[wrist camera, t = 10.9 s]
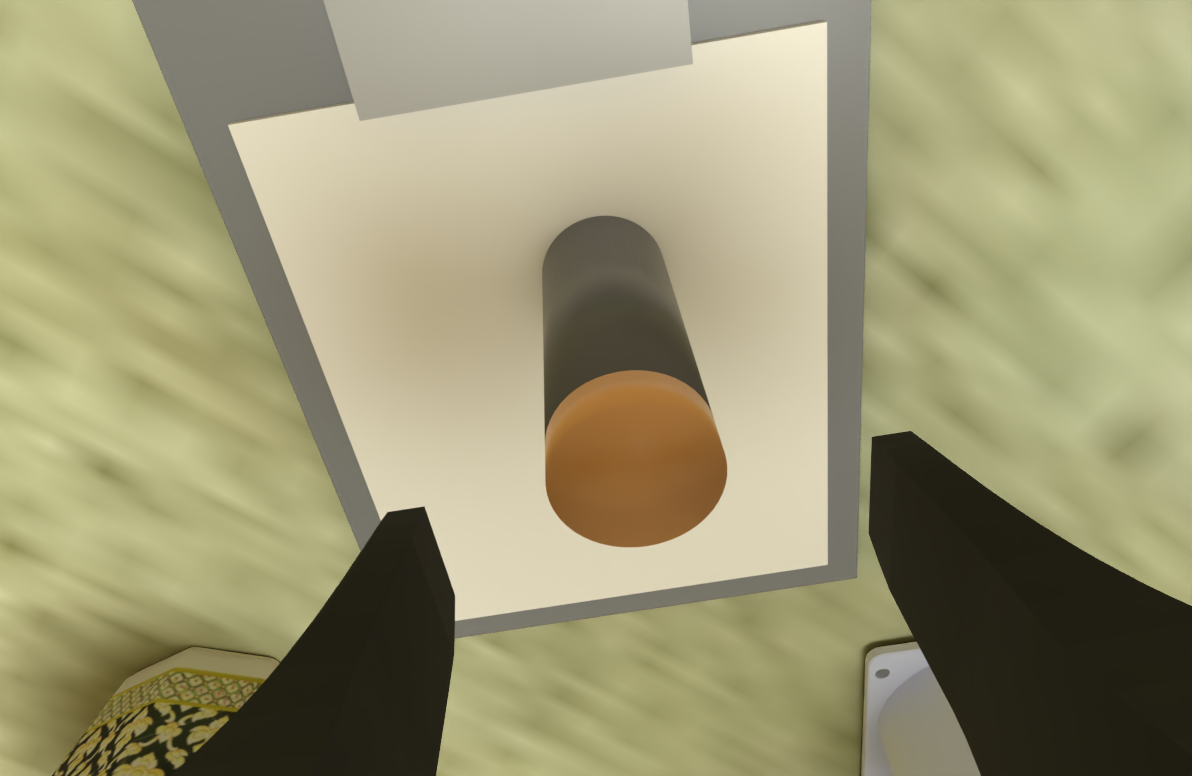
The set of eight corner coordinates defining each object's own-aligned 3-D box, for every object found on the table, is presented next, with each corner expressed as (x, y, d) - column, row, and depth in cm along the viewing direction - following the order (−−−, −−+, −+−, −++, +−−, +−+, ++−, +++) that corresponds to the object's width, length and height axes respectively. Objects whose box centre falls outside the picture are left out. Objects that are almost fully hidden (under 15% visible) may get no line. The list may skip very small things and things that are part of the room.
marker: (670, 317, 21) (733, 533, 15) (554, 336, 21) (562, 559, 15) (657, 206, 20) (720, 389, 13) (531, 227, 20) (528, 420, 13)
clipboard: (850, 564, 27) (867, 601, 26) (402, 632, 28) (396, 671, 27) (865, -154, 17) (893, -154, 15) (136, -24, 17) (101, -14, 16)
